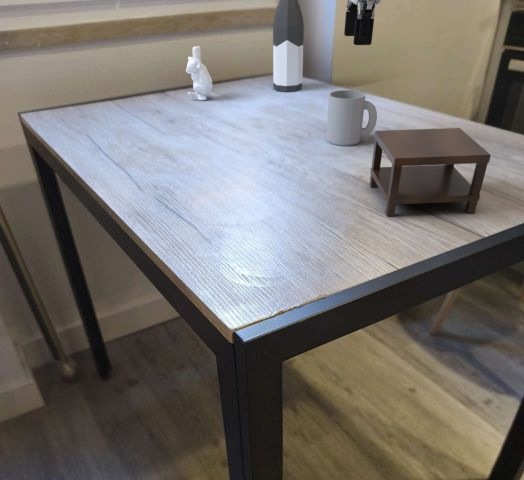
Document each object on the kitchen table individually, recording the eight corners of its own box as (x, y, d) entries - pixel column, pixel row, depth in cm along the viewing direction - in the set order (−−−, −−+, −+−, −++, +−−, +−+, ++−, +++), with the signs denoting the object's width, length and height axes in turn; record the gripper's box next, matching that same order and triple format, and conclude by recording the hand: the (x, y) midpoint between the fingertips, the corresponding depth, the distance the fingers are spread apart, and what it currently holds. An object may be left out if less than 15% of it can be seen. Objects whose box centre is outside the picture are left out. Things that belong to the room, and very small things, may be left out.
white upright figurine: (188, 95, 139) (183, 44, 131) (213, 94, 139) (209, 43, 132) (188, 103, 132) (182, 50, 125) (213, 102, 133) (210, 49, 125)
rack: (448, 181, 89) (459, 127, 83) (475, 213, 79) (491, 154, 73) (368, 184, 89) (375, 130, 83) (386, 217, 79) (394, 158, 73)
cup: (330, 134, 111) (332, 89, 105) (376, 137, 108) (381, 91, 102) (322, 144, 105) (325, 97, 100) (371, 148, 103) (376, 101, 97)
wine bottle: (302, 85, 145) (306, -48, 126) (301, 92, 139) (304, -47, 120) (274, 85, 146) (274, -48, 127) (271, 92, 140) (270, -46, 121)
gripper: (404, -80, 78) (387, 48, 89) (379, -79, 92) (367, 32, 103) (355, -79, 78) (345, 49, 89) (337, -78, 91) (330, 33, 102)
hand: (357, 40), depth 96 cm, fingers open, 9 cm apart
